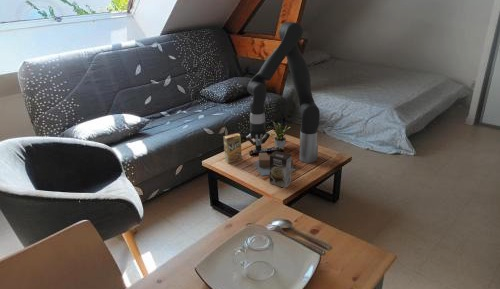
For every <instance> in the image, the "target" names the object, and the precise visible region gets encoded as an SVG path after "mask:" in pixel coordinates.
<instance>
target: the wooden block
mask: <svg viewBox="0 0 500 289" xmlns="http://www.w3.org/2000/svg"><path fill="white" fill-rule="evenodd" d="M293 160H294V159H293V155H292V156H291V167H292V166H293ZM258 161H259V167H270V154H268V153H267V152H258Z"/></svg>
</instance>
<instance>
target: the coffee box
mask: <svg viewBox="0 0 500 289" xmlns="http://www.w3.org/2000/svg"><path fill="white" fill-rule="evenodd" d="M269 156H270V175H269V184H271V185H275V186H278V187H281V188H284V189H286V188H287V187H288V186H289V185H290V184H291V179H292V178H291V177H292V175H291V174H292V173H291V172H292V171H291V156H292V157H293V155H292V154H291V153H288V152H283V151H281V150H274V151H273V152H272V153H271V154H269Z"/></svg>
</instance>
